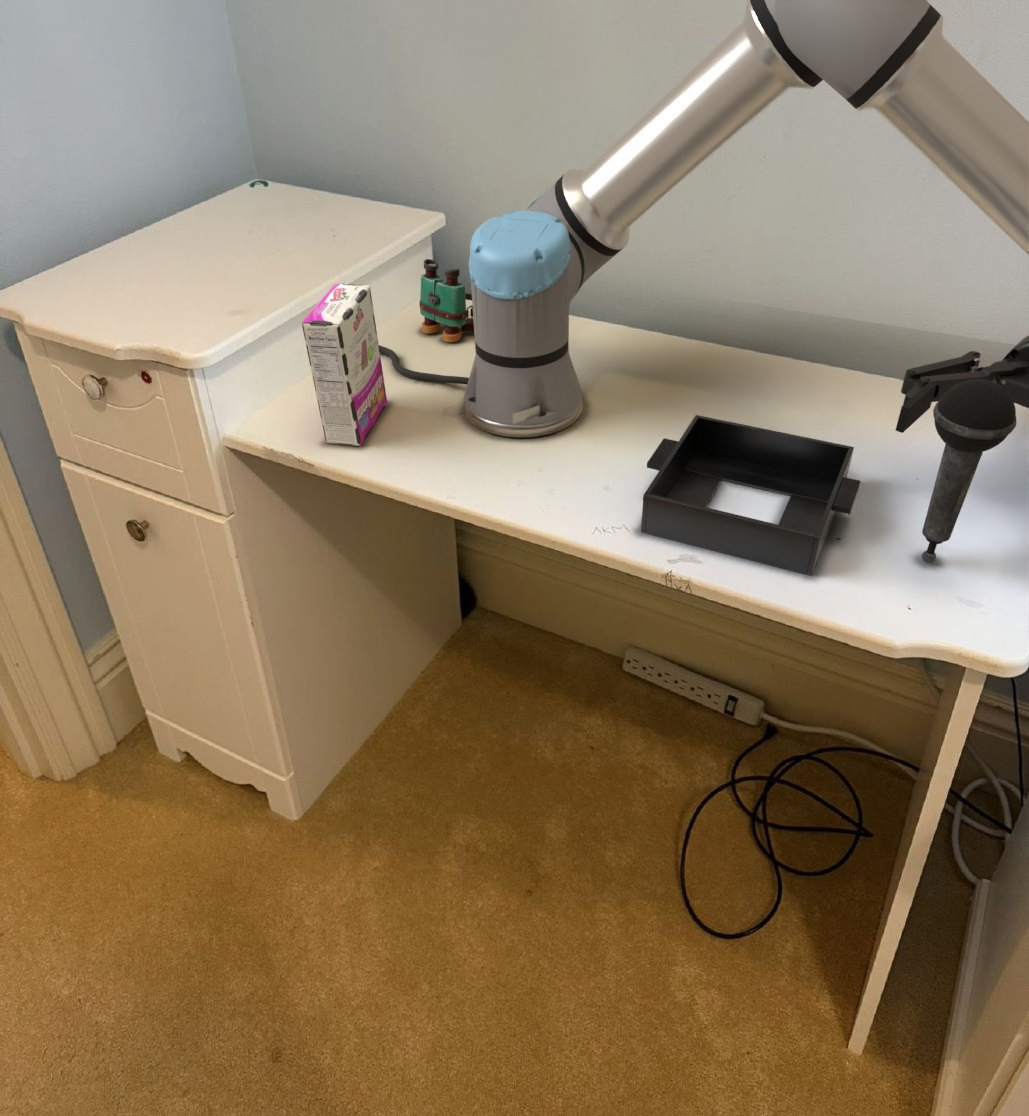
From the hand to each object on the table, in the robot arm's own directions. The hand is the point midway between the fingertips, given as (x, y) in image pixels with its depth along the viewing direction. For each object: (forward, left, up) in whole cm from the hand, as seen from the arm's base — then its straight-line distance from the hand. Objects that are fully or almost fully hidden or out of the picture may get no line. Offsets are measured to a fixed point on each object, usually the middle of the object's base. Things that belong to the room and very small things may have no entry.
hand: (971, 443), depth 86 cm
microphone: (-1, -3, -13) cm, 13 cm away
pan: (-20, -1, -13) cm, 23 cm away
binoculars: (-72, +27, -13) cm, 78 cm away
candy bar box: (-70, -3, -13) cm, 71 cm away
